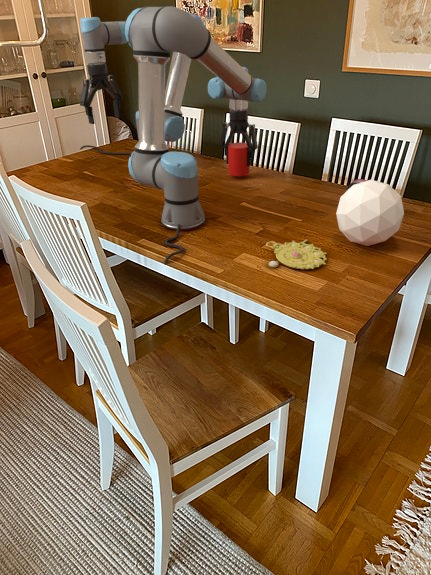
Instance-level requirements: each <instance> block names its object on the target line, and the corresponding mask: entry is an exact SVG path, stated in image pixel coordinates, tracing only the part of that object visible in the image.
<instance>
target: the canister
mask: <svg viewBox="0 0 431 575" xmlns="http://www.w3.org/2000/svg"><path fill="white" fill-rule="evenodd" d="M248 150H249V148H248V146H247V144H246V142H240V141H239V142H232V143H231V142H230V144H229V145H228V164H227V165H228V166H227V170H228V172H227V173H228V175H230V176H232V177H245V176H248V175H249V174H250V166H249V167H248V166H247V151H248Z"/></svg>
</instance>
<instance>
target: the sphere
mask: <svg viewBox="0 0 431 575" xmlns="http://www.w3.org/2000/svg"><path fill="white" fill-rule="evenodd" d="M367 180H368V179H367ZM335 216H336V221H337V225H338V230H339V231H340V232H341V233H342V234H343V235H344V236H345V237H346V239H347V240H348V241H349V242H351V243H354V244H357V245H358V244H359V245H361V246H366V247H369V246H373V245H376V244H379V243H383V242H386V241H387V240H388V239H390V238H391V237H392V236H393V235H395V234H396V233H398V231H399V230H400V227H401V225H402V222H403V218H404V216H405V211H404V205H403V200H402V195H401V194H399V193H398V192H397V191H396V190H395V189H394V188H393V187H392V186H391V185H390V184H388V183H386V182H382V181H377V180H374V179H369V180H368V181H365V182H362V183H358V184H355V185H353V186H352V187H351V188H349V189H348V190H347V189H346V191H345V192H344V193H343V194H342V195H341V196H340V198H339V202H338V205H337V209H336V212H335Z"/></svg>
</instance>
